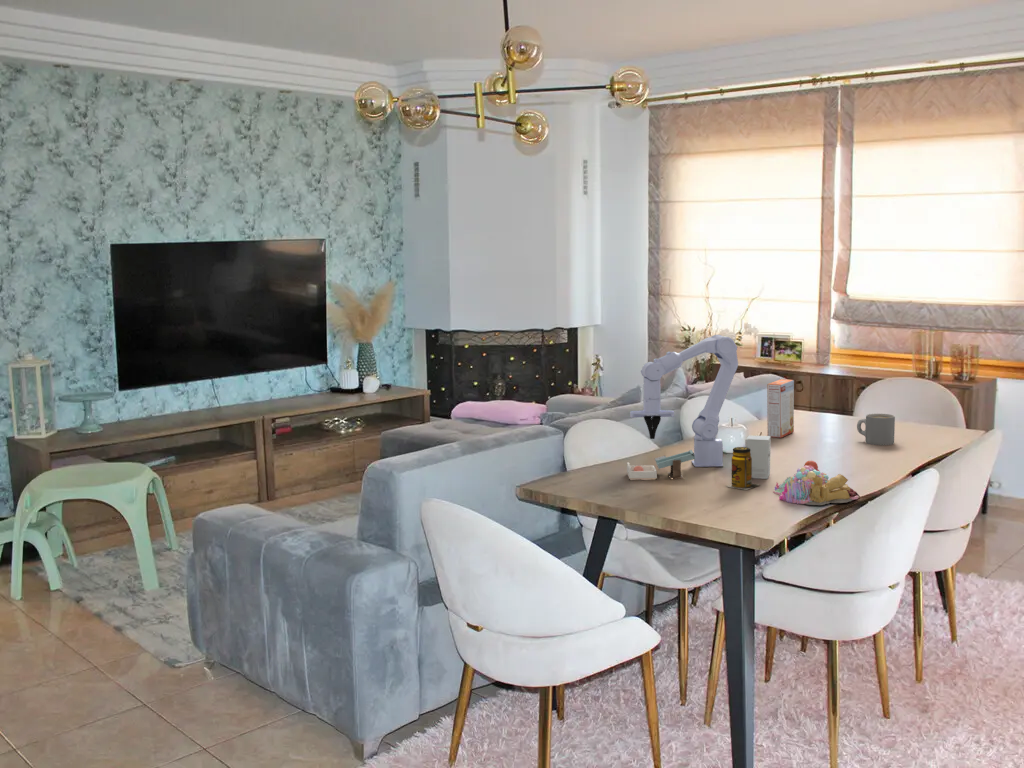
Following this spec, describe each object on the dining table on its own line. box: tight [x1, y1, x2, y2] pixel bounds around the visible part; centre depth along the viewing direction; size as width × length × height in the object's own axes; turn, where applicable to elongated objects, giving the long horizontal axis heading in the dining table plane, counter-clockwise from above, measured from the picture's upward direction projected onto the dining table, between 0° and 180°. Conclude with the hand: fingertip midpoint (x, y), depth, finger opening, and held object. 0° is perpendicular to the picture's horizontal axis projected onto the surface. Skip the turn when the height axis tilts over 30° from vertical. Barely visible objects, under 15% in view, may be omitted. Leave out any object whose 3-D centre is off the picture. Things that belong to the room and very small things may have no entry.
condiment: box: [726, 446, 762, 491], centre depth 304 cm, size 7×8×12 cm
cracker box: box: [766, 378, 795, 439], centre depth 384 cm, size 14×6×21 cm, turn 144°
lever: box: [654, 449, 695, 470], centre depth 322 cm, size 12×12×2 cm
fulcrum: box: [667, 460, 685, 480], centre depth 319 cm, size 4×8×6 cm, turn 178°
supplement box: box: [744, 435, 772, 480], centre depth 317 cm, size 7×7×13 cm
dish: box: [626, 461, 658, 479], centre depth 320 cm, size 9×9×4 cm
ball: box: [634, 465, 644, 471], centre depth 320 cm, size 3×3×3 cm
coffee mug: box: [856, 413, 896, 446], centre depth 366 cm, size 13×10×10 cm
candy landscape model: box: [772, 460, 861, 506], centre depth 291 cm, size 25×24×9 cm
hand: (652, 438), depth 332 cm, fingers closed
